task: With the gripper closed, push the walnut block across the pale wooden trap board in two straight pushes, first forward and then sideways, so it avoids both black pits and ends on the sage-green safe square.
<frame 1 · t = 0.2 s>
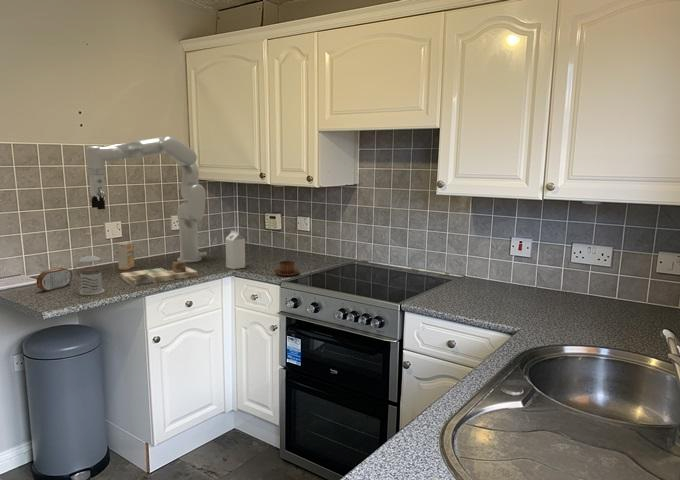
hand: (98, 208, 240), 31 cm above the worktop, tool pointing down, fingers open, 9 cm apart
trap board: (159, 277, 235), on the worktop
brown grey rounded block: (55, 289, 214), on the worktop
french press: (89, 292, 209), on the worktop
walnut block: (179, 271, 237), point 2 cm above the worktop, touching trap board
supplement box: (126, 268, 253), on the worktop
cup and saucer: (286, 275, 246), on the worktop
milk carton: (235, 267, 259), on the worktop
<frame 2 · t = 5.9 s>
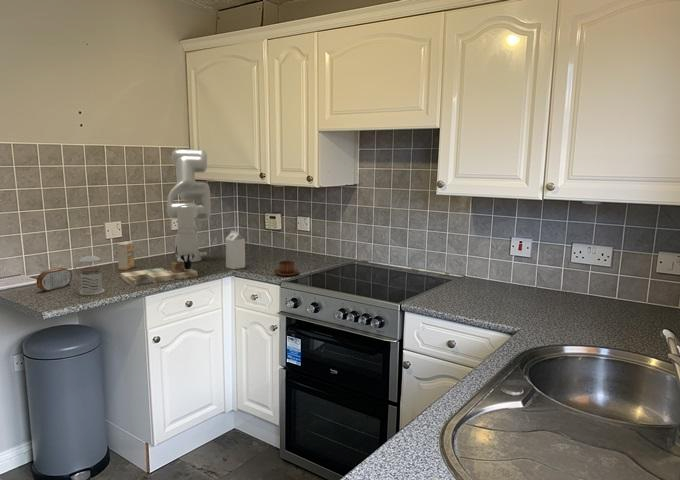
hand: (187, 268, 239), 3 cm above the worktop, tool pointing down, fingers closed
walnut block: (177, 271, 236), point 2 cm above the worktop, touching gripper, trap board
everything else where it was.
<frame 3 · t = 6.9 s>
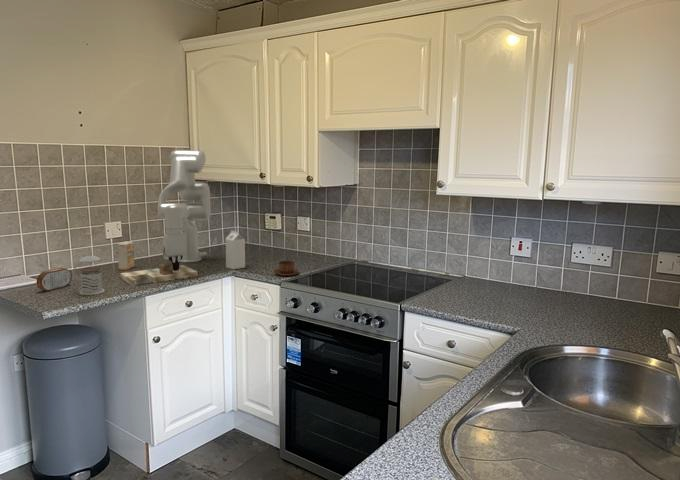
hand: (175, 270, 235), 3 cm above the worktop, tool pointing down, fingers closed
walnut block: (166, 273, 232), point 3 cm above the worktop, touching gripper
everything else where it was.
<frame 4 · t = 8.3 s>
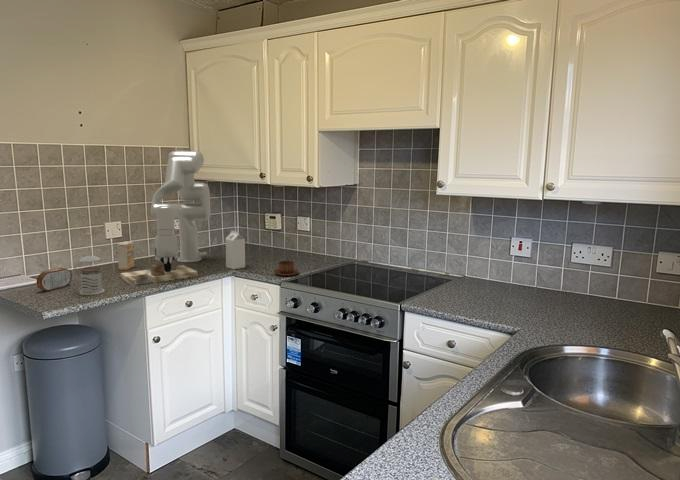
hand: (167, 271, 233), 3 cm above the worktop, tool pointing down, fingers closed
walnut block: (157, 274, 230), point 2 cm above the worktop, touching gripper, trap board
everything else where it was.
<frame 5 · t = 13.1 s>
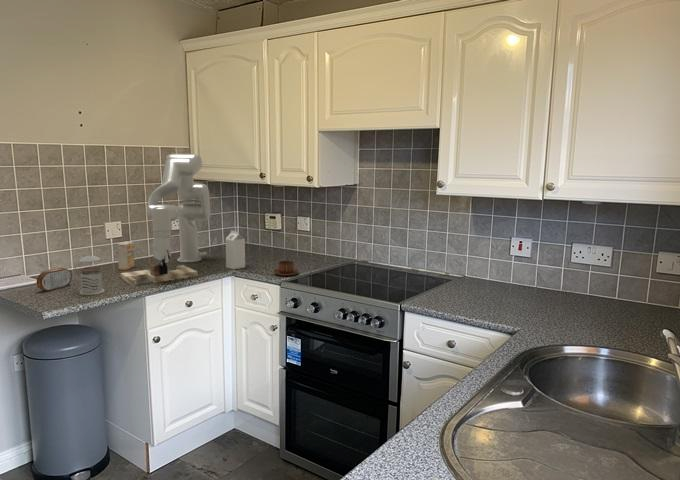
hand: (163, 274, 227), 4 cm above the worktop, tool pointing down, fingers closed
nothing on the worktop moved.
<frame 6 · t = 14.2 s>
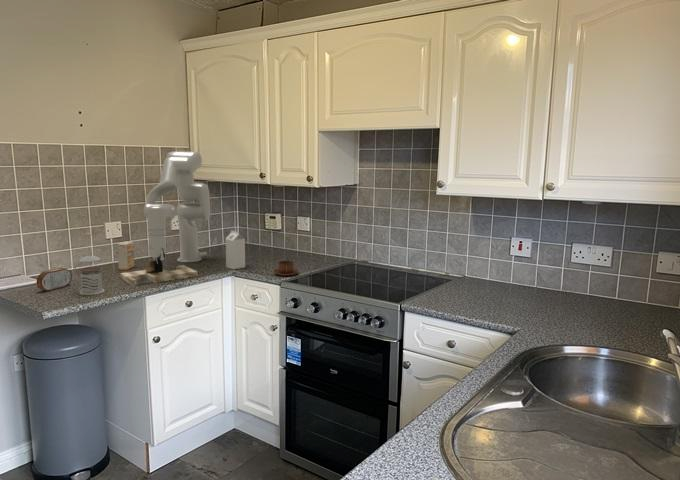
hand: (158, 271, 232), 3 cm above the worktop, tool pointing down, fingers closed
walnut block: (153, 271, 233), point 3 cm above the worktop, tilted 20°, touching gripper
everything else where it was.
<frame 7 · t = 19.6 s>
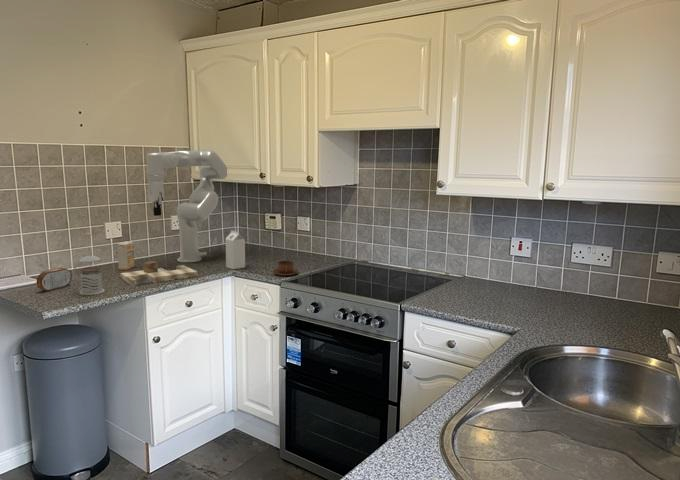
hand: (157, 215, 249), 27 cm above the worktop, tool pointing down, fingers closed
walnut block: (150, 271, 236), point 2 cm above the worktop, touching trap board
everything else where it was.
at the end: walnut block inside the target area on the trap board (1.8 cm from its centre), point 2.5 cm above the trap board's base; walnut block tilted 0° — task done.
